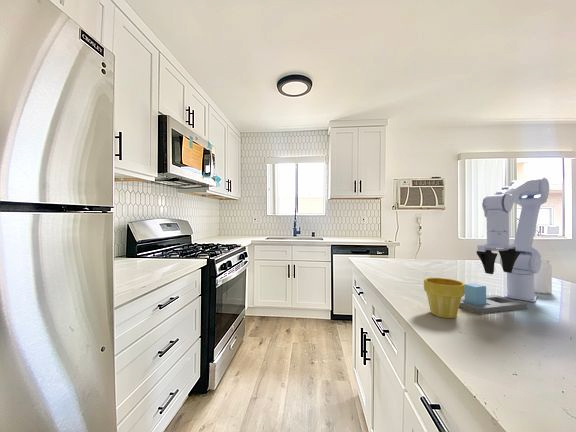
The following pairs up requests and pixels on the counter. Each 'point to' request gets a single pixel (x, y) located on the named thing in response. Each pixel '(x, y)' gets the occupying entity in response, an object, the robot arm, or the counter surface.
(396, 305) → the counter surface
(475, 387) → the counter surface
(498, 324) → the counter surface
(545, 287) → the can
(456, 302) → the plant pot
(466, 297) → the plug
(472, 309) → the holder plate
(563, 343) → the counter surface
